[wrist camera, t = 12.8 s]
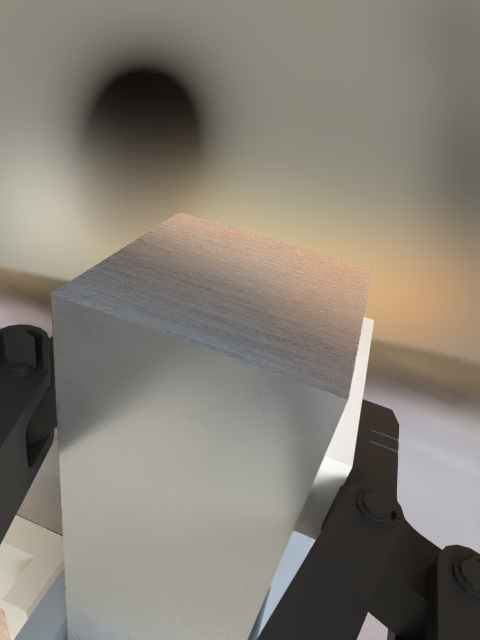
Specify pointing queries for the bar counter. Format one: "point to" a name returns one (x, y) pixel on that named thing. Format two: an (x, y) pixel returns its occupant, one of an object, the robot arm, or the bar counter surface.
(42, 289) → the bar counter surface
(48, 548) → the cradle
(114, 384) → the grey long rectangular block
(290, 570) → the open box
